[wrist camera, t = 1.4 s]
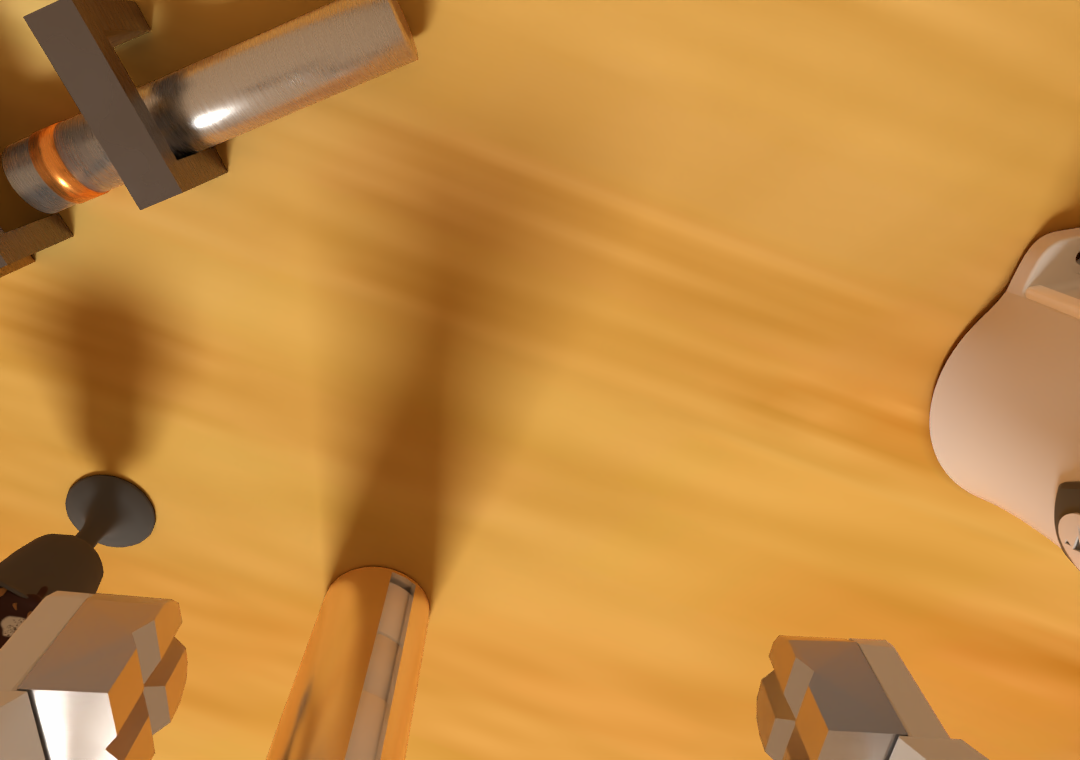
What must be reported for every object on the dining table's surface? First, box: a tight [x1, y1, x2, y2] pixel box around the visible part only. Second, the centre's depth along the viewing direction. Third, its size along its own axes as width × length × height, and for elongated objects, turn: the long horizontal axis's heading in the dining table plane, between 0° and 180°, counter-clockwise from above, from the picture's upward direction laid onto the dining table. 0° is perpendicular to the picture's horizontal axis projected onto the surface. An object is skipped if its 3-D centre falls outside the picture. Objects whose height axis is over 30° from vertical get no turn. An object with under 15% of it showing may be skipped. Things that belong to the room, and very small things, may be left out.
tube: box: [2, 0, 418, 214], centre depth 32 cm, size 18×3×3 cm
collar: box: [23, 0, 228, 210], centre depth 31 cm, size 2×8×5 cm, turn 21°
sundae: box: [0, 475, 155, 649], centre depth 36 cm, size 7×7×15 cm
